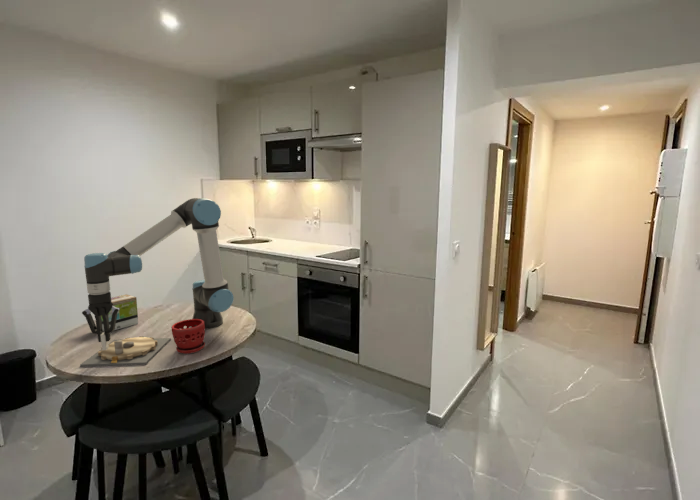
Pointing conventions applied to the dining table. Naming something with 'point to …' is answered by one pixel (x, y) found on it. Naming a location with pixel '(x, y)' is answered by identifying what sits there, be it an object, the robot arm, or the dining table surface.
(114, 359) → the sprocket
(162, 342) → the sprocket base
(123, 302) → the tea box
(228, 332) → the dining table surface
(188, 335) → the plant pot
